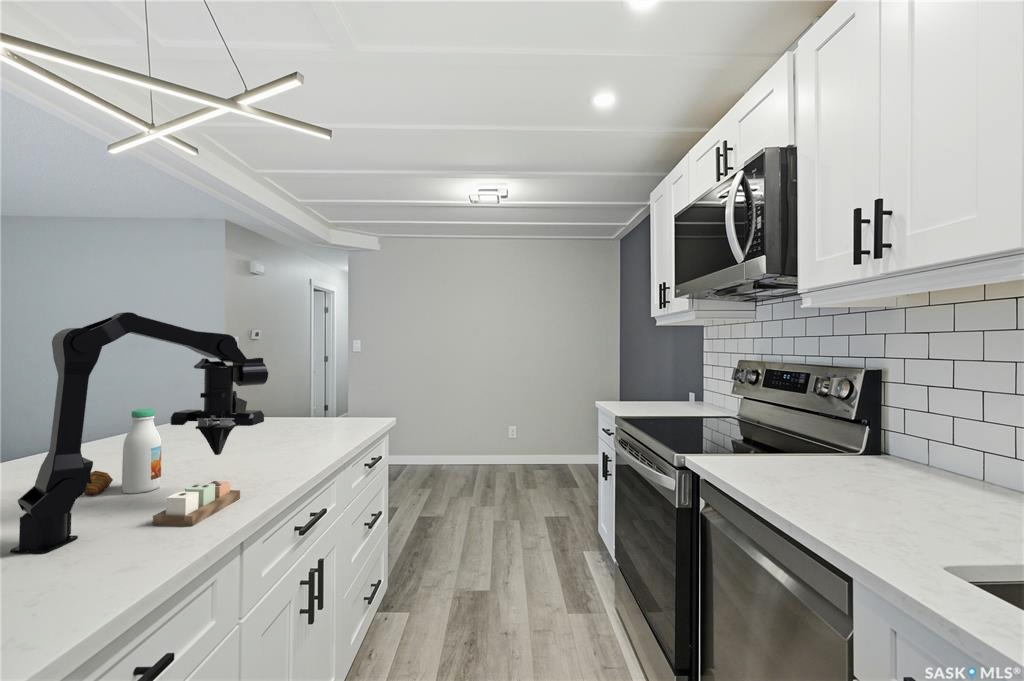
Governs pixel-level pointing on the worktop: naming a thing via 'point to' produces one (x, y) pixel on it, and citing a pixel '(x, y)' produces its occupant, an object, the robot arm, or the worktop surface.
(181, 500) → the key one
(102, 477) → the croissant
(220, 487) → the key three
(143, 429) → the milk bottle
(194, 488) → the key two
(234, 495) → the board
